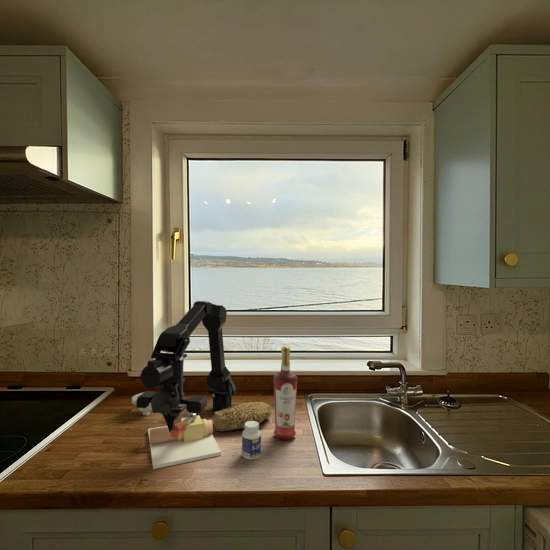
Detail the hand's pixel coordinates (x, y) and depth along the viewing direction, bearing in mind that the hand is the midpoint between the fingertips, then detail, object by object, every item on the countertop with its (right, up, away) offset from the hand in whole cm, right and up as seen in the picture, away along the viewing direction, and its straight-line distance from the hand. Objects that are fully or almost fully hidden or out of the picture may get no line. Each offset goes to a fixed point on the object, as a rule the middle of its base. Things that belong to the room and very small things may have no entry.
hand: (171, 431), depth 99 cm
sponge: (+19, -6, +19) cm, 28 cm away
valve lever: (+3, 0, +4) cm, 5 cm away
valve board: (+1, -6, +7) cm, 9 cm away
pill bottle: (+22, -7, 0) cm, 24 cm away
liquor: (+32, -7, +11) cm, 35 cm away
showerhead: (-17, -6, +26) cm, 32 cm away
